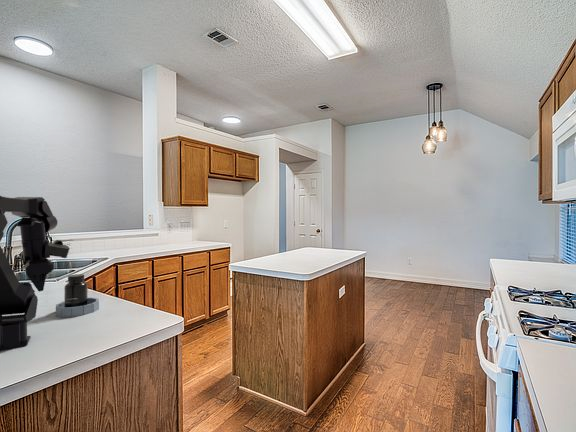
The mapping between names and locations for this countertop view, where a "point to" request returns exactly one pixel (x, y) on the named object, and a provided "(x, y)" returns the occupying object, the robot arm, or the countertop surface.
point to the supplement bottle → (76, 291)
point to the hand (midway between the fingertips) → (39, 286)
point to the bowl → (77, 308)
